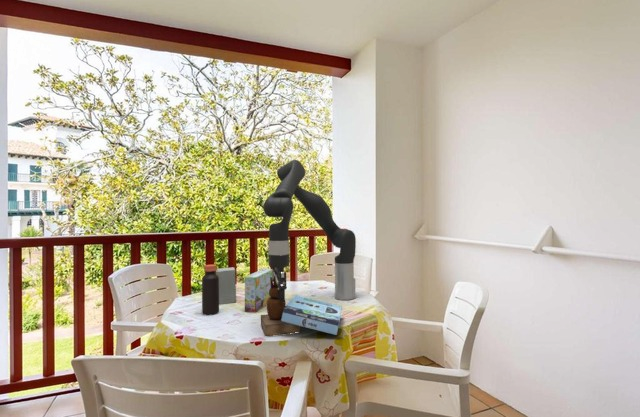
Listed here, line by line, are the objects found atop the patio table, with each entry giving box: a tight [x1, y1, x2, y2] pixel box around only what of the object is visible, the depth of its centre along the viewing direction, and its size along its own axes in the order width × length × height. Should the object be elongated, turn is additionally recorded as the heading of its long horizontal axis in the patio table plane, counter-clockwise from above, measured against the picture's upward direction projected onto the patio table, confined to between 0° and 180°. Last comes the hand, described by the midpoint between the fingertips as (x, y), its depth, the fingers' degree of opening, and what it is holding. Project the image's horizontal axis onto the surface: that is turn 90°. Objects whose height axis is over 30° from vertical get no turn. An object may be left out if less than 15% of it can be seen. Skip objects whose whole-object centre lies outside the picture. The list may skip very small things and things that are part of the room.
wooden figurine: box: [266, 277, 287, 319], centre depth 125 cm, size 7×6×15 cm
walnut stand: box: [260, 313, 301, 337], centre depth 125 cm, size 12×12×4 cm
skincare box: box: [216, 266, 237, 305], centre depth 163 cm, size 8×7×16 cm
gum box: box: [281, 294, 343, 336], centre depth 127 cm, size 20×5×23 cm
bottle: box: [201, 264, 220, 316], centre depth 146 cm, size 7×7×20 cm
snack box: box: [244, 268, 273, 313], centre depth 157 cm, size 21×6×15 cm, turn 168°
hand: (279, 297), depth 125 cm, fingers open, 8 cm apart
